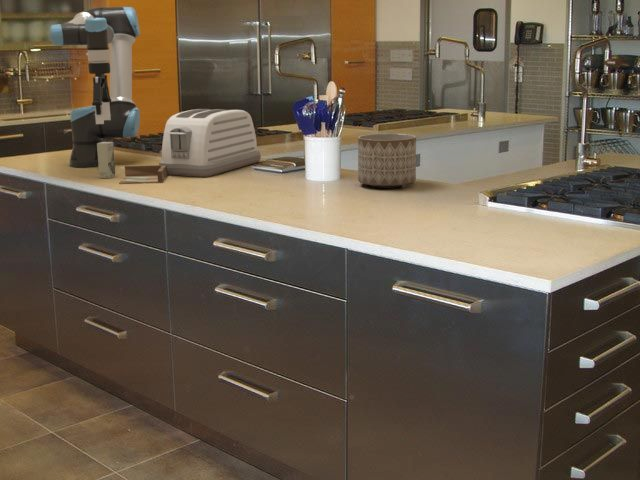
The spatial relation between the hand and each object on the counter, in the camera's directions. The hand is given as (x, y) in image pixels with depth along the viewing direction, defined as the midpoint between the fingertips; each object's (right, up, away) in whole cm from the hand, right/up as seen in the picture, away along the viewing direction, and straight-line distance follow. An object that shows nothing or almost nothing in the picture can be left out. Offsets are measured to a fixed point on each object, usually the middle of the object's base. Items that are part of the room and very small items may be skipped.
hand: (103, 122), depth 322 cm
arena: (+15, -21, -2) cm, 26 cm away
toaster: (+36, -15, +21) cm, 45 cm away
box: (0, -20, +5) cm, 20 cm away
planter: (+101, -24, -22) cm, 106 cm away
